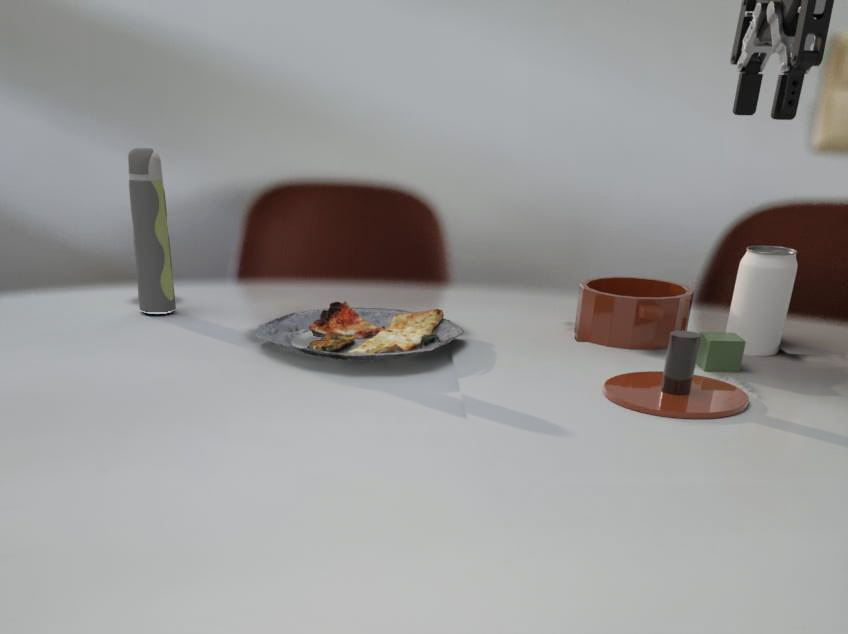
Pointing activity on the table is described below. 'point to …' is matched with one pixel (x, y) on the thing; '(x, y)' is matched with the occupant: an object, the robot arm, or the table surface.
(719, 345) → the block
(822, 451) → the table surface
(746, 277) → the can
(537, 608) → the table surface
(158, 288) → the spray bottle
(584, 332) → the dish
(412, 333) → the food plate
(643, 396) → the cover
